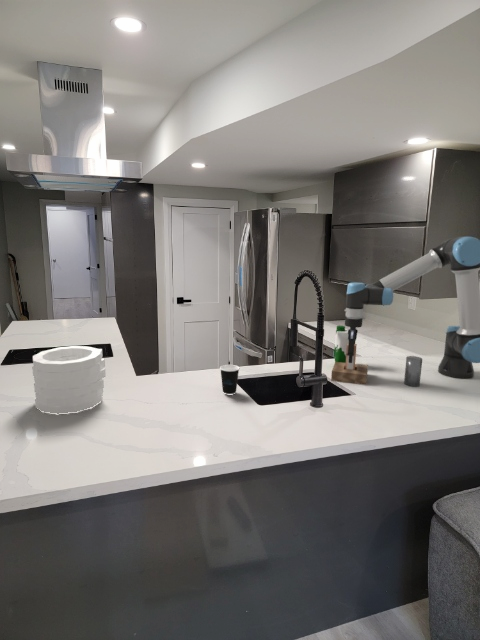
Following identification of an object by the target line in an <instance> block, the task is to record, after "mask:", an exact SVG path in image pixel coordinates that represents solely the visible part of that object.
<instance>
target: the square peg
mask: <svg viewBox="0 0 480 640" xmlns="http://www.w3.org/2000/svg"><path fill="white" fill-rule="evenodd" d="M348 345H349V343H347V351H346V354H348ZM347 359H348V355H346V366H345V369H346V370H350V369H347ZM356 359H357V343H355V345H354V364H353V370H355V364H356Z"/></svg>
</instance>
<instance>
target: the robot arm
mask: <svg viewBox="0 0 480 640" xmlns="http://www.w3.org/2000/svg"><path fill="white" fill-rule="evenodd" d="M448 265H450V271H451V272H452V273H453V274H454V275H455V285H456V286H455V287H456V297H457V300H456V301H457V308H458V321H459V325H450V326H448V327H447V328H446V332H445V334H446V335H445V342H444V343H445V344H444V353H443V357H442V359H441V361H440V362H439V365H438V369H437V372H438V373H439V374H441V375H443V376H446V377H451V378H455V379H471V378H473V377H474V375H475V369H474V365H473V364H480V280H479V271H480V239H478V238H477V237H473V236H469V235H467V236H453V237H451V238H448V239H446V240H445V241H443V242H441V243H440V244H438V245H435V247H432V248H431V249H430V250H429V252H428V253H426V254H425V255H423V256H421V257H419V258H417V259H416V260H413V261H412V262H409V263H407V264H406V265H404V266H403V267H401V268H398V269H396V270H395V271H393V272H391V273H389V274H387V275H386V276H384V277H382V278H380V279H379V280H377V281H375V282H373V283H369V284H366V283H364V282H352V281H351V282H349V283H348V284H347V290H346V296H345V297H346V298H345V299H346V300H345V301H346V303H345V309H344V312H345V318H344V326H345V327H348V328H349V329H347V330H348V340H349V345H348V354H346V355H348V359H347V369H350V370H353V364H354V345H355V344H356V340H357V335H358V331H359V330H358V329H357V328H361V327H362V326H363V317H364V305H365V306H368V305H371V306H391V305H392V303H393V301H394V291H395V290H398V289H399V288H401V287H403V286H405V285H407V284H409V283H411V282H412V281H414V280H416V279H418V278H420V277H422V276H423V275H426V274H427V273H429V272H431V271H433V270H435V269H437V268H438V269H443V267H446V266H448Z"/></svg>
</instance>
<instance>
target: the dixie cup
mask: <svg viewBox="0 0 480 640" xmlns="http://www.w3.org/2000/svg"><path fill="white" fill-rule="evenodd" d="M240 368H241V367H240V366H238V365H237V364H236V365H234V364H224V365H220V367H219V370H220V377H221V385H222V386H221V387H222V392H224V393H226V394H234V393H235V394H236V393H237V389H238V379H239V371H240ZM224 393H223V394H224Z"/></svg>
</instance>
